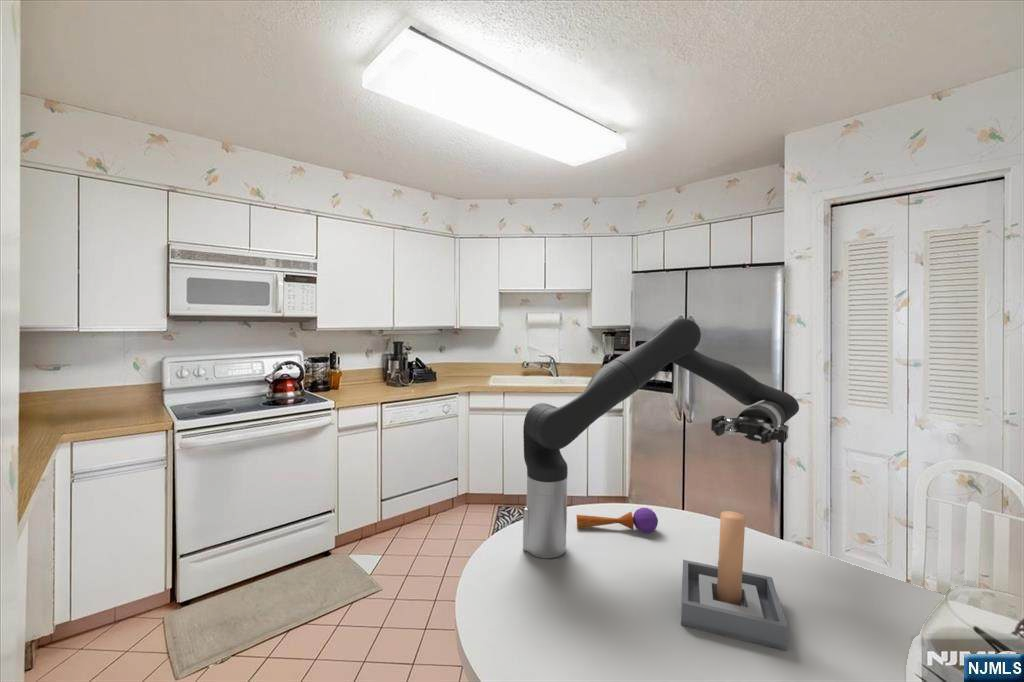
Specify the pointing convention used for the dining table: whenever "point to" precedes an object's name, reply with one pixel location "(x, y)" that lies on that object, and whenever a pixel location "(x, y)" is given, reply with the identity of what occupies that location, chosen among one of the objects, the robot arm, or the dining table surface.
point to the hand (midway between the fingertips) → (739, 434)
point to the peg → (730, 557)
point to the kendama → (623, 520)
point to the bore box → (733, 607)
